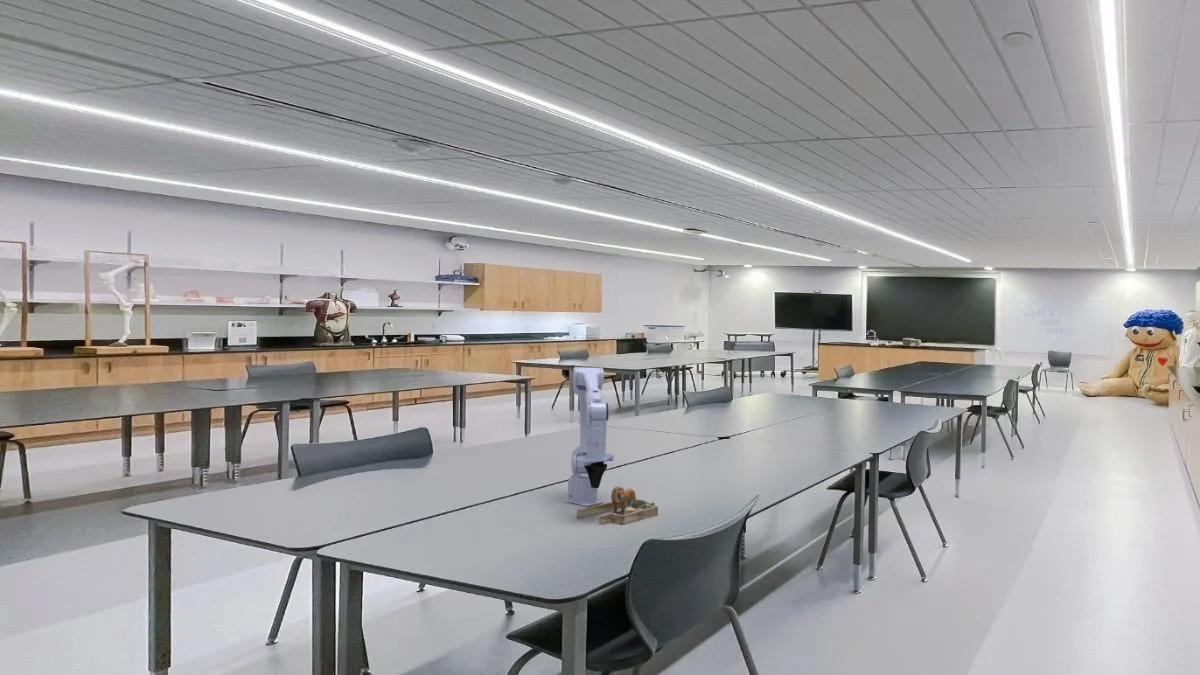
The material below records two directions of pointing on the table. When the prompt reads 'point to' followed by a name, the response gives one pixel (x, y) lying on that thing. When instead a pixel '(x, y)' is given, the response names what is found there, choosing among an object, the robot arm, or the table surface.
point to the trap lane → (629, 516)
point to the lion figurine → (623, 498)
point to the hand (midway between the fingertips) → (594, 487)
